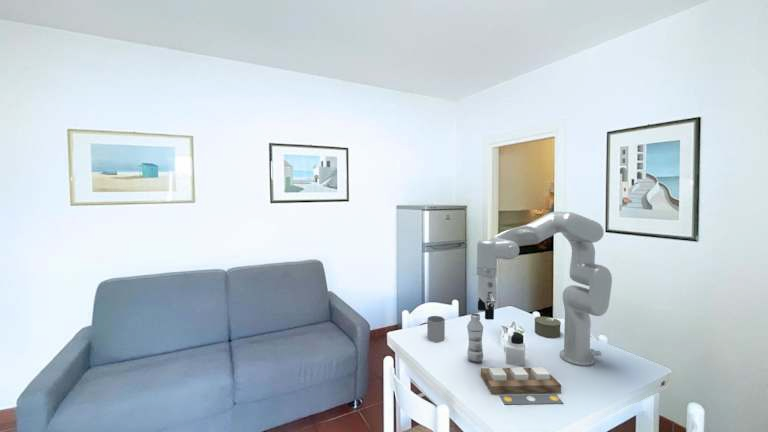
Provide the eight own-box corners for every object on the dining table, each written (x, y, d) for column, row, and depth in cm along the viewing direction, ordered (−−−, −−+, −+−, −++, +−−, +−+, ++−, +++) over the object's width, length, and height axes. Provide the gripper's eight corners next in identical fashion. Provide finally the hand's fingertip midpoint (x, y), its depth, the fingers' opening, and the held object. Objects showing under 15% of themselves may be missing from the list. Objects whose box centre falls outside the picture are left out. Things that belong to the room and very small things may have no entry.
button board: (543, 374, 126) (543, 367, 126) (561, 393, 114) (561, 385, 114) (480, 375, 125) (480, 368, 125) (491, 394, 113) (491, 386, 113)
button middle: (522, 375, 122) (522, 367, 122) (528, 382, 117) (528, 374, 117) (509, 375, 122) (510, 367, 122) (515, 382, 117) (515, 374, 117)
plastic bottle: (484, 364, 134) (484, 318, 133) (467, 363, 135) (467, 316, 134) (482, 357, 140) (482, 312, 139) (466, 356, 141) (466, 311, 140)
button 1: (501, 375, 122) (501, 367, 122) (506, 382, 117) (506, 374, 117) (489, 375, 122) (489, 368, 122) (493, 383, 117) (493, 375, 117)
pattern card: (555, 395, 113) (555, 393, 113) (563, 403, 108) (563, 402, 108) (499, 396, 112) (499, 394, 112) (504, 404, 108) (504, 403, 108)
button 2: (543, 374, 122) (543, 367, 122) (549, 382, 117) (550, 374, 117) (530, 375, 122) (530, 367, 122) (536, 382, 117) (537, 374, 117)
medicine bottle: (524, 358, 138) (525, 331, 138) (524, 366, 132) (524, 338, 131) (507, 355, 141) (507, 329, 141) (505, 363, 135) (506, 335, 134)
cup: (447, 337, 160) (447, 318, 160) (440, 343, 153) (440, 323, 153) (431, 333, 165) (431, 314, 164) (424, 339, 158) (424, 320, 157)
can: (529, 332, 165) (529, 319, 165) (541, 327, 172) (541, 314, 172) (553, 341, 156) (553, 327, 155) (564, 334, 163) (565, 321, 162)
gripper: (504, 277, 116) (502, 323, 117) (489, 267, 134) (488, 307, 134) (483, 276, 116) (482, 322, 117) (471, 267, 134) (470, 307, 134)
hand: (485, 314), depth 126 cm, fingers open, 9 cm apart
